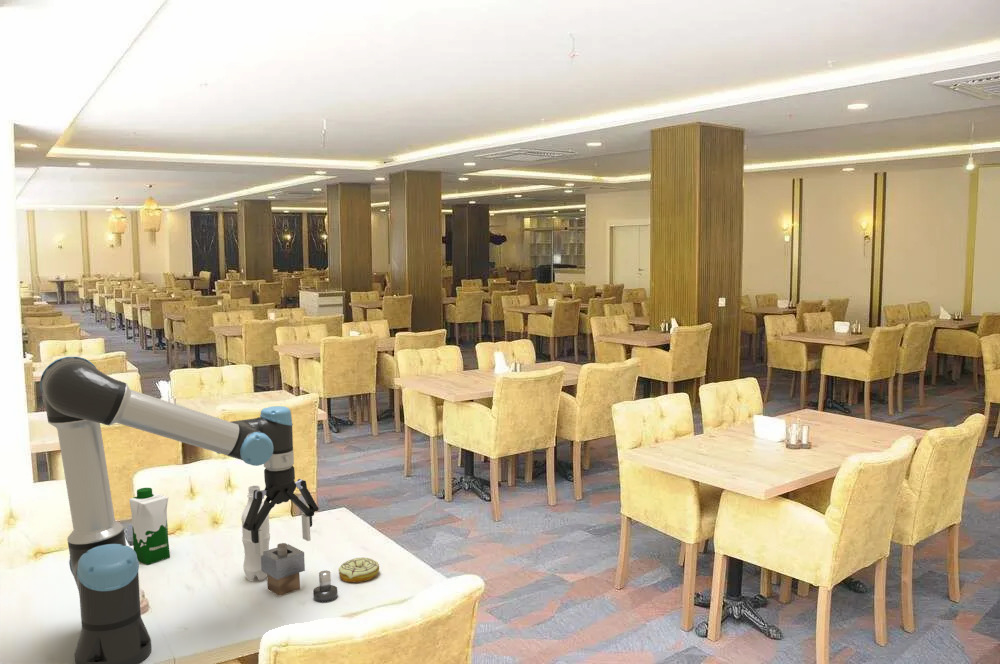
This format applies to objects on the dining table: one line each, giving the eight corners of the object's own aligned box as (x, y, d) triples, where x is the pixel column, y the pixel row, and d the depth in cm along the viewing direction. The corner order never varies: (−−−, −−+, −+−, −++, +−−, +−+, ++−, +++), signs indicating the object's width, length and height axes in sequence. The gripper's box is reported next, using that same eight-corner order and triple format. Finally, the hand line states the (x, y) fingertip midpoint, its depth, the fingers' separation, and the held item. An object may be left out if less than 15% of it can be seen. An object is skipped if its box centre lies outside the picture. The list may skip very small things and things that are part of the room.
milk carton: (158, 550, 238) (154, 484, 236) (175, 557, 233) (171, 489, 231) (129, 559, 231) (125, 491, 229) (146, 567, 226) (142, 497, 224)
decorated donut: (332, 575, 219) (331, 562, 219) (366, 565, 226) (366, 552, 226) (350, 587, 211) (350, 573, 211) (386, 577, 218) (385, 563, 218)
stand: (279, 596, 206) (277, 550, 205) (267, 589, 210) (265, 544, 209) (300, 589, 210) (298, 544, 209) (288, 582, 215) (286, 538, 213)
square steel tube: (276, 579, 204) (276, 560, 204) (261, 570, 210) (260, 552, 209) (304, 570, 210) (304, 552, 209) (289, 562, 215) (288, 544, 215)
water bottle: (263, 583, 214) (259, 491, 211) (238, 581, 215) (234, 490, 213) (276, 572, 221) (272, 483, 218) (252, 571, 222) (248, 482, 220)
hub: (321, 604, 201) (320, 579, 200) (308, 597, 205) (308, 572, 205) (342, 597, 205) (341, 572, 205) (329, 590, 209) (328, 566, 209)
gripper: (240, 480, 196) (245, 564, 198) (329, 459, 213) (332, 537, 215) (226, 474, 201) (231, 556, 203) (313, 454, 218) (317, 530, 221)
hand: (283, 546), depth 209 cm, fingers open, 13 cm apart
